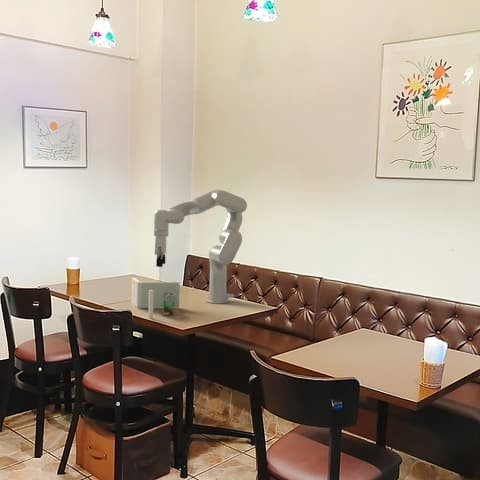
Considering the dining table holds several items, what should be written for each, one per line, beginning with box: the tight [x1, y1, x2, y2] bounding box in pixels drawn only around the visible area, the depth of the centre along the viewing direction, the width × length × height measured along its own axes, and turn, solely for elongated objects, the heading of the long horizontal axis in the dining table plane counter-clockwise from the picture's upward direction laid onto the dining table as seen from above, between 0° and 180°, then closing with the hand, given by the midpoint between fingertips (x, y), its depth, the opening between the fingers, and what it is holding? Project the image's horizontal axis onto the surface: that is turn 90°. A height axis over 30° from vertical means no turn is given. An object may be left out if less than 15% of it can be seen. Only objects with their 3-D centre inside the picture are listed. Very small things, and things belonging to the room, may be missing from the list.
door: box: [140, 281, 180, 309], centre depth 312 cm, size 3×20×14 cm, turn 99°
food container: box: [163, 292, 176, 317], centre depth 301 cm, size 12×6×10 cm, turn 5°
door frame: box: [131, 277, 154, 320], centre depth 305 cm, size 2×36×14 cm, turn 24°
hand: (160, 265), depth 315 cm, fingers open, 9 cm apart
